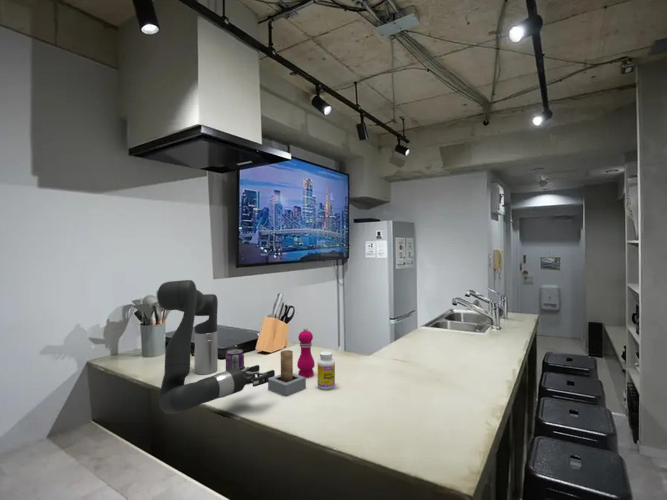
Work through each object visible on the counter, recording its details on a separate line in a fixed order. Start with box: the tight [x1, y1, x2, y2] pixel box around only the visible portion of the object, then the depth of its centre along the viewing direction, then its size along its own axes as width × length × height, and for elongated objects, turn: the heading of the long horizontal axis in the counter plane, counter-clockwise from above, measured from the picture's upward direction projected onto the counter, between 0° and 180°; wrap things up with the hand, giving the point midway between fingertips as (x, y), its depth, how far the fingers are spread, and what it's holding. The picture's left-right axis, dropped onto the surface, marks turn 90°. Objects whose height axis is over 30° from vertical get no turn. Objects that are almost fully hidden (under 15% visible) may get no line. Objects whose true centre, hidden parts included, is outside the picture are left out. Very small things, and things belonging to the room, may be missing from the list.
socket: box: [267, 373, 307, 397], centre depth 137 cm, size 10×10×4 cm
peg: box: [280, 349, 294, 382], centre depth 137 cm, size 4×4×14 cm
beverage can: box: [225, 348, 245, 371], centre depth 145 cm, size 7×7×12 cm
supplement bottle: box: [317, 351, 336, 390], centre depth 138 cm, size 7×7×13 cm
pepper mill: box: [296, 327, 315, 379], centre depth 151 cm, size 7×7×20 cm
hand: (266, 370), depth 129 cm, fingers open, 8 cm apart
